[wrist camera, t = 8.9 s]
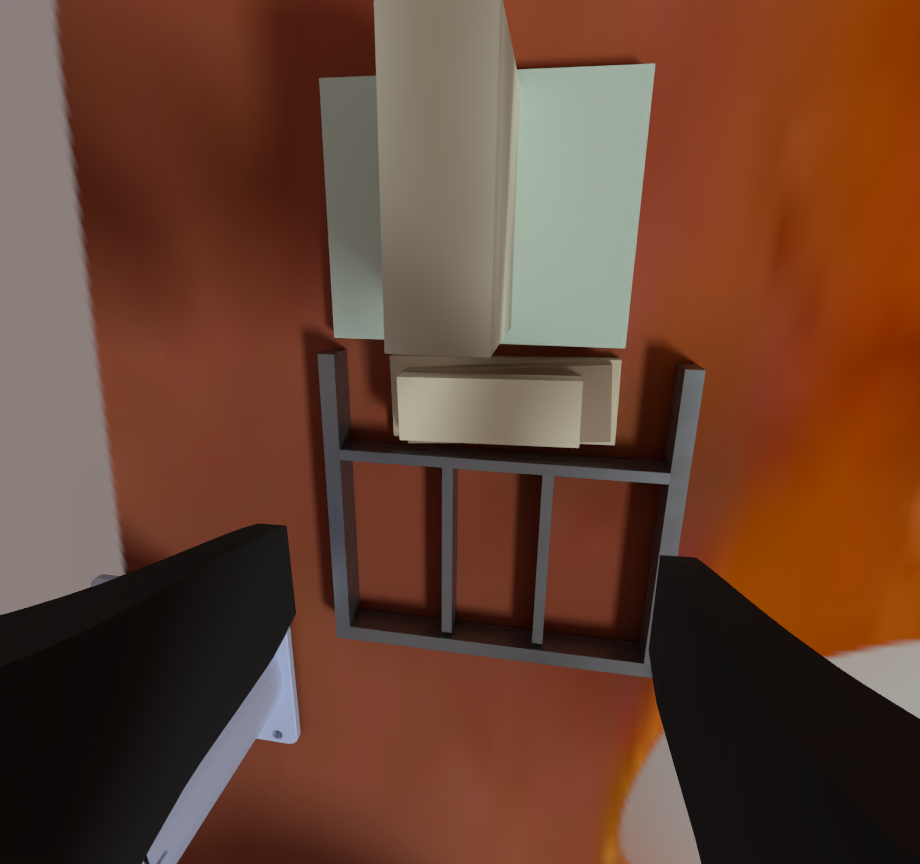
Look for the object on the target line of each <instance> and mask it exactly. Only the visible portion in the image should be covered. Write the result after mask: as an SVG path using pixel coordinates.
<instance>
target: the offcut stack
mask: <svg viewBox="0 0 920 864" xmlns="http://www.w3.org/2000/svg"><path fill="white" fill-rule="evenodd" d="M621 362H622V360H621V358H597V357H537V356H491V357H490V358H482V357H457V356H433V355H409V354H392V355H391V356H390V372H391V391H392V410H393V429H394V436H399V437H400V440H408V443H475V444H497V445H520V446H542V447H565V448H579V444H594V445H615V437H616V424H617V412H618V399H619V387H620V374H621Z"/></svg>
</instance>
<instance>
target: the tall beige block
mask: <svg viewBox="0 0 920 864" xmlns="http://www.w3.org/2000/svg"><path fill="white" fill-rule="evenodd" d="M374 22H375V55H376V87H377V120H378V153H379V186H380V219H381V252H382V284H383V317H384V350H385V354H409V355H433V356H457V357H482V358H490V357H491V356H492V354H493V353H494V351H495V350H496V348H497V347H498V345H499V344H500V343H501V341H502V340H503V338H504V337H505V335H506V334H507V333H508V331H509V330H510V328H511V311H512V287H513V262H514V237H515V212H516V188H517V163H518V138H519V113H520V89H521V87H520V82H519V77H518V72H517V67H516V63H515V58H514V53H513V48H512V43H511V38H510V33H509V28H508V24H507V19H506V14H505V9H504V4H503V0H374Z"/></svg>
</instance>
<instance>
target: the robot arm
mask: <svg viewBox="0 0 920 864" xmlns="http://www.w3.org/2000/svg"><path fill="white" fill-rule="evenodd" d="M91 585H92V587H90V588H87V589H84V590H82V591H78V592H75V593H72V594H70V595H66V596H64V597H60V598H57V599H54V600H51V601H47V602H44V603H41V604H38V605H34V606H31V607H28V608H24V609H21V610H17V611H14V612H10V613H7V614H3V615H0V864H177V863H178V861H179V859H180V858H181V856H182V855H183V853H184V851H185V850H186V848H187V847H188V845H189V844H190V842H191V840H192V839H193V837H194V836H195V834H196V832H197V831H198V829H199V828H200V826H201V825H202V823H203V821H204V820H205V818H206V817H207V815H208V813H209V812H210V810H211V809H212V807H213V806H214V804H215V802H216V801H217V799H218V798H219V796H220V794H221V793H222V791H223V790H224V788H225V787H226V785H227V783H228V782H229V780H230V779H231V777H232V775H233V774H234V772H235V771H236V769H237V768H238V766H239V764H240V763H241V761H242V760H243V758H244V756H245V755H246V753H247V752H248V750H249V749H250V747H251V745H252V744H253V742H254V741H255V739H256V738H257V739H263V740H269V741H275V742H281V743H287V744H292V743H295V742H296V741H297V739H298V738H299V736H300V722H299V712H298V702H297V692H296V682H295V671H294V661H293V651H292V641H291V631H290V624H291V622H292V620H293V618H294V616H295V614H296V609H295V599H294V590H293V581H292V572H291V563H290V554H289V545H288V536H287V527H286V526H283V525H270V524H255V525H252V526H248V527H245V528H242V529H239V530H236V531H233V532H231V533H228V534H225V535H223V536H220V537H218V538H215V539H213V540H210V541H208V542H205V543H203V544H200V545H198V546H195V547H193V548H191V549H188V550H186V551H183V552H181V553H178V554H176V555H173V556H171V557H169V558H166V559H164V560H161V561H159V562H156V563H154V564H151V565H149V566H146V567H143V568H141V569H138V570H135V571H133V572H130V573H127V574H125V575H122V576H112V575H100V576H98V577H97V578H95V579H94V580H93V581H92V583H91ZM649 657H650V664H651V671H652V677H653V684H654V690H655V696H656V702H657V706H658V710H659V713H660V717H661V721H662V724H663V728H664V731H665V735H666V738H667V742H668V745H669V749H670V752H671V756H672V759H673V763H674V766H675V770H676V773H677V776H678V780H679V784H680V787H681V791H682V794H683V797H684V801H685V805H686V808H687V811H688V815H689V818H690V822H691V825H692V829H693V832H694V836H695V839H696V843H697V847H698V851H699V855H700V860H701V864H920V719H919V718H917V717H916V716H914V715H912V714H911V713H909V712H907V711H906V710H904V709H903V708H901V707H899V706H898V705H896V704H894V703H893V702H891V701H890V700H888V699H886V698H885V697H883V696H882V695H880V694H878V693H877V692H875V691H874V690H872V689H870V688H869V687H867V686H866V685H864V684H862V683H861V682H859V681H858V680H856V679H855V678H853V677H852V676H850V675H849V674H847V673H846V672H844V671H843V670H841V669H840V668H838V667H837V666H835V665H834V664H833V663H831V662H830V661H829V660H827V659H826V658H824V657H823V656H821V655H820V654H819V653H817V652H816V651H814V650H813V649H812V648H810V647H809V646H807V645H806V644H805V643H803V642H802V641H801V640H799V639H798V638H797V637H795V636H794V635H793V634H791V633H790V632H789V631H787V630H786V629H785V628H783V627H782V626H781V625H779V624H778V623H777V622H776V621H774V620H773V619H772V618H770V617H769V616H768V615H767V614H765V613H764V612H763V611H762V610H760V609H759V608H758V607H757V606H755V605H754V604H753V603H752V602H750V601H749V600H748V599H747V598H746V597H744V596H743V595H742V594H741V593H739V592H738V591H737V590H736V589H735V588H733V587H732V586H731V585H730V584H729V583H727V582H726V581H725V580H724V579H723V578H721V577H720V576H719V575H718V574H716V573H715V572H714V571H713V570H712V569H710V568H709V567H708V566H707V565H705V564H704V563H703V562H701V561H700V560H698V559H697V558H693V557H680V556H667V555H660V559H659V568H658V576H657V584H656V592H655V601H654V609H653V617H652V626H651V634H650V642H649Z"/></svg>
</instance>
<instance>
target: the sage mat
mask: <svg viewBox="0 0 920 864" xmlns="http://www.w3.org/2000/svg"><path fill="white" fill-rule="evenodd" d="M517 72H518V77H519V82H520V87H521V89H520V113H519V138H518V163H517V188H516V212H515V237H514V262H513V287H512V311H511V328H510V330H509V331H508V333H507V334H506V335H505V337H504V338H503V340H502V341H501V343H500V344H518V345H545V346H572V347H599V348H625V346H626V337H627V327H628V318H629V309H630V299H631V290H632V280H633V271H634V261H635V252H636V242H637V233H638V223H639V214H640V204H641V195H642V185H643V176H644V166H645V157H646V148H647V138H648V129H649V119H650V110H651V100H652V91H653V81H654V72H655V64H633V65H610V66H587V67H564V68H541V69H518V70H517ZM319 86H320V103H321V120H322V137H323V155H324V172H325V189H326V206H327V223H328V240H329V257H330V274H331V292H332V309H333V326H334V338H356V339H383V340H384V317H383V284H382V252H381V219H380V186H379V153H378V120H377V87H376V76H356V77H333V78H319Z"/></svg>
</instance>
